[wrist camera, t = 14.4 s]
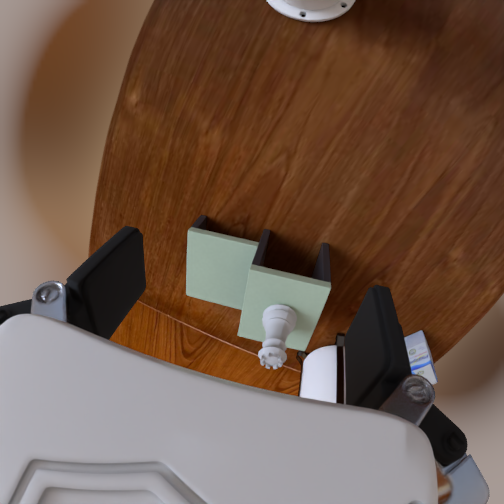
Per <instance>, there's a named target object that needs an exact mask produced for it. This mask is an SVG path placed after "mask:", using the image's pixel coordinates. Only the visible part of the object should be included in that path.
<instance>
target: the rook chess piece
mask: <svg viewBox="0 0 504 504" xmlns="http://www.w3.org/2000/svg"><path fill="white" fill-rule="evenodd" d="M296 321H297V315H296V313H295V312H294V310H292V309H291V308H290V307H289V306H286V305H284V304H275V305H271V306H269V307H268V308H266V309H265V310H264V313H263V318H262V323H263V327H264V329H265V331H266V338H265V341H264V342H263V344H262V345H263V349H261V350H260V351H259V353H258V356H259V358H260V360H261V362H260V363H261V365H262V366H263V365H264V364H266V367H265V368H268V369H270V366H273V369H278V365H279V367H281V366H282V364H283V363H284V362H285V361H286V359H287V355H286V353H285V352H284V351H285V350H286V344H285V342H286V339H287V336H288V335H289V334H290V332H292V331H293V329H294V327H295V326H296Z"/></svg>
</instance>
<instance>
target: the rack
mask: <svg viewBox="0 0 504 504" xmlns="http://www.w3.org/2000/svg"><path fill="white" fill-rule="evenodd" d="M206 222H207V216H204V215H201V216H200V217H199V218H198V219H197V220H196V222H195V223H194V224H193V225H192V226H191V228H190V229H189V230H188V241H187V273H186V295H188V296H191V297H195V298H199V299H202V300H206V301H210V302H213V303H217V304H221V305H225V306H229V307H232V308H236V309H240V310H242V314H241V320H240V325H239V331H238V336H241V337H245V338H249V339H253V340H257V341H261V342H264V341H265V338H266V331H265V329H264V327H263V323H262V318H263V313H264V310H265V309H266V308H268V307H269V306H271V305H275V304H284V305H286V306H289V307H290V308H291V309H292V310H294V312H295V313H296V315H297V321H296V326H295V327H294V329H293V331H292V332H290V334H289V335H288V336H287V339H286V342H285V344H286V347H288V348H292V349H297V350H302V351H305V350H306V347H307V345H308V343H309V341H310V338H311V336H312V334H313V331H314V329H315V327H316V324H317V322H318V320H319V317H320V315H321V312H322V310H323V307H324V305H325V303H326V300H327V298H328V295H329V292H330V290H331V275H330V256H329V244H326V243H322V246H321V249H320V252H319V255H318V259H317V262H316V265H315V268H314V271H313V274H312V277H311V278H308V277H304V276H300V275H296V274H291V273H287V272H283V271H279V270H274V269H270V268H266V267H263V265H264V260H265V255H266V251H267V246H268V241H269V236H270V230H267V229H264V231H263V234H262V236H261V239H260V242H255V241H250V240H246V239H242V238H237V237H233V236H228V235H224V234H220V233H215V232H211V231H207V230H206Z"/></svg>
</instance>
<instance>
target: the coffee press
mask: <svg viewBox="0 0 504 504" xmlns="http://www.w3.org/2000/svg"><path fill="white" fill-rule="evenodd" d="M344 337H345V334H339V333H337V336H336V342H335V345H333V346H325V347H321V348H319V349H316V350H314V351H313V352H311V353H310V354H309V355H306V354H305V353H304V352H303V351H299V352H297V356H296V359H297V360H298V361H299V363H300V365H301V373H300V382H299V391H298V397H304V398H310V399H315V400H321V401H326V402H332V403H339V404H345V405H346V385H345V347H344ZM299 356H302V357H304V358H305V360H304V363H303V362H302V359H301V358H300V357H299ZM302 365H303V368H302ZM301 376H302V377H301ZM299 394H300V395H299Z"/></svg>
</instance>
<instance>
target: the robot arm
mask: <svg viewBox="0 0 504 504" xmlns="http://www.w3.org/2000/svg"><path fill="white" fill-rule="evenodd" d="M266 1H267V2H268V3H269V4H270V5H271V6H272V7H273V8H274V9H275V10H277V11H278V12H279V13H281V14H283V15H285V16H287V17H290V18H293V19H295V20H300V21H305V22H323V21H328V20H332V19H334V18H337V17H339V16H341V15H343V14H344V13H346V12H347V11H348V10H349V9H350V8H351V7H352V6H353V4H354V2H355V0H266ZM342 5H344V6H345V8H343V7H342ZM301 15H305V17H302V16H301ZM145 287H146V278H145V266H144V251H143V235H142V233H140V231H139V229H138V228H133V227H129V226H125V227H123V228H122V229H121V230H120V231H119V232H118V233H116V234H115V235H114V236H113V237H112V238H111V239H109V240H108V241H107V242H106V243H105V244H104V245H103V246H102V247H100V248H99V249H98V250H97V251H96V252H95V253H94V254H93V255H92V256H90V257H89V258H88V259H87V260H86V261H85V262H84V263H83V264H82V265H81V266H80V267H79V268H78V269H77V270H75V271H74V272H73V273H72V274H71V275H70V276H69V277H68V278H67V283H66V285H63V284H62V283H60V282H59V281H48V282H45V283H43V284H41V285H39V286H38V287H37V288H36V289H35V291H34V292H33V296H32V299H30V300H26V301H21V302H17V303H13V304H8V305H4V306H0V504H486V503H487V501H488V499H489V487H488V485H487V483H486V481H485V479H484V478H483V476H482V474H481V472H480V470H479V469H478V467H477V465H476V463H475V462H474V460H473V458H472V456H471V455H468V456H467V455H466V450H467V439H466V437H465V435H464V433H463V432H462V431H461V430H460V429H459V428H458V427H457V426H456V425H455V424H454V423H453V422H452V421H451V420H450V419H449V418H448V417H446V416H445V415H444V414H443V413H442V412H441V411H440V410H439V409H438V408H437V407H436V406H435V405H434V404H433V402H434V399H435V391H434V388H433V386H432V384H431V383H430V382H429V381H428V380H427V379H426V378H425V377H423V376H421V375H418V374H412V371H411V366H410V361H409V357H408V352H407V348H406V343H405V339H404V335H403V331H402V327H401V325H400V324H399V322H398V318H397V314H396V310H395V307H394V303H393V299H392V296H391V292H390V289H389V288H388V287H384V286H379V285H375V286H374V287H373V288H372V287H370V288H369V289H368V291H367V293H366V295H365V297H364V299H363V302H362V304H361V306H360V308H359V310H358V312H357V314H356V316H355V318H354V320H353V322H352V324H351V326H350V327H349V329H348V331H347V333H346V336H345V341H344V345H345V385H346V405H345V404H339V403H332V402H326V401H321V400H315V399H310V398H304V397H298V396H293V395H288V394H283V393H278V392H274V391H269V390H265V389H260V388H256V387H252V386H248V385H244V384H240V383H236V382H232V381H228V380H224V379H221V378H217V377H214V376H210V375H207V374H203V373H200V372H197V371H193V370H190V369H187V368H184V367H181V366H178V365H175V364H171V363H169V362H166V361H163V360H160V359H157V358H154V357H151V356H148V355H146V354H143V353H140V352H138V351H135V350H132V349H130V348H127V347H125V346H122V345H120V344H117V343H115V342H112V341H110V340H109V339H110V337H111V336H112V335H113V333H114V332H115V330H116V329H117V327H118V326H119V325H120V323H121V322H122V321H123V319H124V318H125V316H126V315H127V314H128V312H129V311H130V310H131V308H132V307H133V305H134V304H135V303H136V301H137V300H138V299H139V297H140V296H141V295H142V293H143V292H144V290H145Z"/></svg>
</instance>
